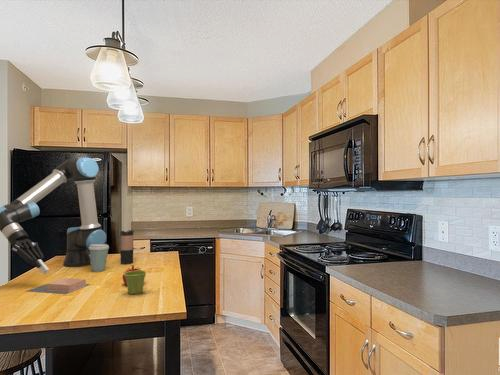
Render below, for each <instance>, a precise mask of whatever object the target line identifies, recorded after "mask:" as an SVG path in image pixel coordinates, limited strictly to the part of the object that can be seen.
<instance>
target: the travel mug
mask: <svg viewBox="0 0 500 375" xmlns="http://www.w3.org/2000/svg"><path fill="white" fill-rule="evenodd" d="M119 241H120V243H119V244H120V246H119V248H120V249H119V252H120V253H119V254H120V265H131V264H132V265H133V264H134V230H127V231H124V230H121V231H120V240H119Z"/></svg>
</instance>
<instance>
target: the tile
mask: <svg viewBox="0 0 500 375" xmlns="http://www.w3.org/2000/svg"><path fill="white" fill-rule="evenodd" d="M86 284H87V283H86V279H85V278H70V277H69V278H67V277H62V278H59V279H56V280H52V281H50V282H47V283H46V290H47V291H61V292H71V291H73V292H75V291H74V290H76V289H78V290H80V289H79V288H81V287H83V288H85V287H84V286H86ZM86 287H87V286H86ZM81 289H82V288H81ZM76 291H77V290H76ZM71 293H72V292H71Z"/></svg>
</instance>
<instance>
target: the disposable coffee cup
mask: <svg viewBox="0 0 500 375" xmlns="http://www.w3.org/2000/svg"><path fill="white" fill-rule="evenodd" d="M109 249H110V246H109V244H107V243H105V244H91V245H90V246H89V249H88V252H89V255H90V259H91V264H90V265H91V266H90V267H91V271H92V272H94V273H101V272H104V271H105V269H106V265H107V259H108V253H109Z"/></svg>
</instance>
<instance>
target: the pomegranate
mask: <svg viewBox="0 0 500 375" xmlns="http://www.w3.org/2000/svg"><path fill="white" fill-rule="evenodd" d="M130 271H143V270H142V269H141V268H140V266H137V267H135V265H134V264H132V265H131V268H130V267H129V268H127V269H126V270H125V272H124V273H126V272H130ZM124 273H123V274H122V281H123V285H125V286H126V287H127V282H126V278H125V275H124Z"/></svg>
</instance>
